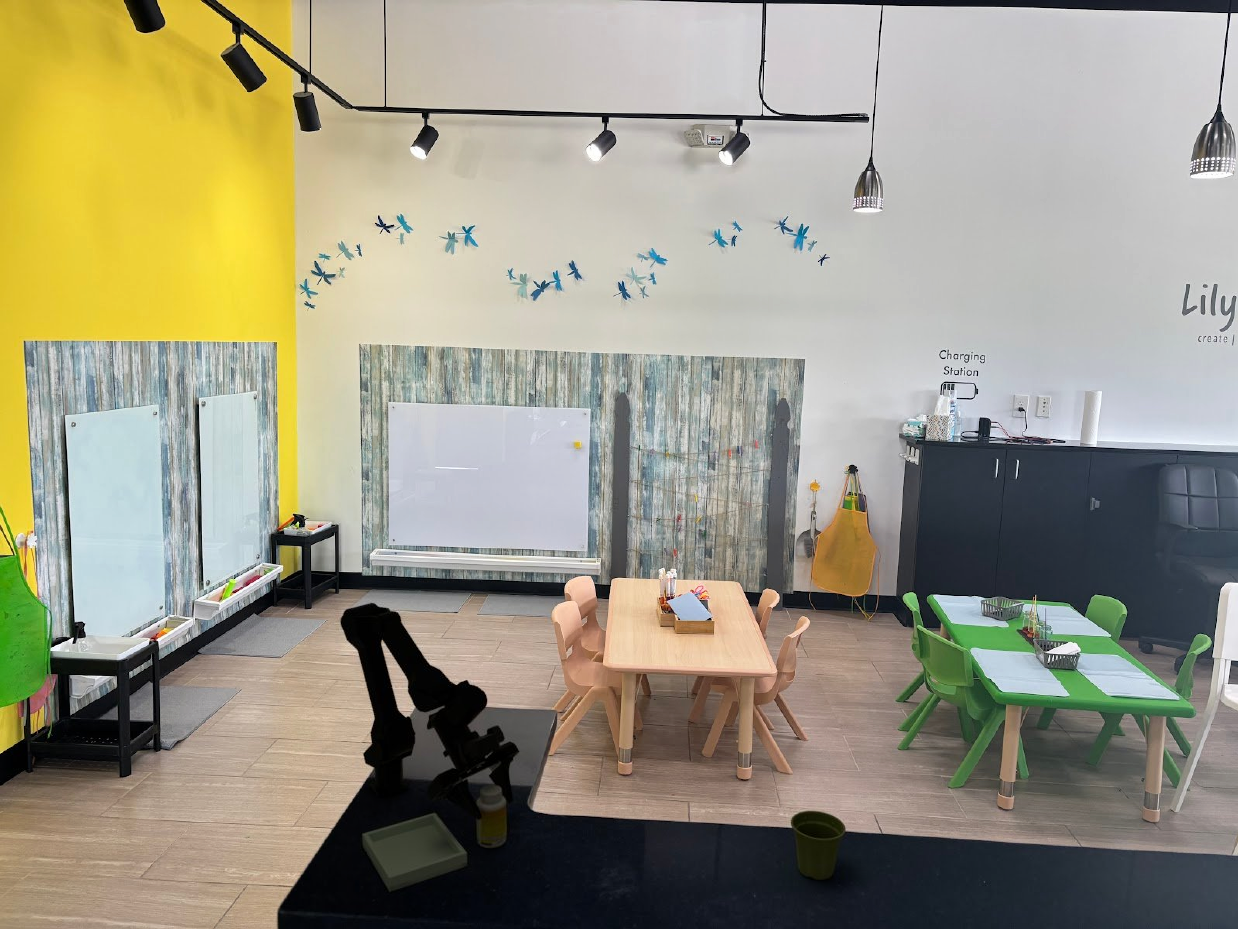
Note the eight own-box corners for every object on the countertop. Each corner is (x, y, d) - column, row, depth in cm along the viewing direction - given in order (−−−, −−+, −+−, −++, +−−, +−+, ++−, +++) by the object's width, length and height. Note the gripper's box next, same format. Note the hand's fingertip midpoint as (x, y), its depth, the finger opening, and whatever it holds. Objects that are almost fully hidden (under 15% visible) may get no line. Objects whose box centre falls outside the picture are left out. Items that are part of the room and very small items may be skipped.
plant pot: (824, 851, 158) (826, 807, 157) (854, 880, 149) (856, 834, 148) (779, 860, 155) (781, 815, 154) (806, 891, 146) (808, 843, 145)
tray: (362, 846, 158) (362, 834, 158) (435, 825, 166) (434, 812, 166) (389, 892, 145) (389, 878, 145) (467, 866, 153) (466, 853, 152)
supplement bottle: (512, 842, 160) (511, 791, 159) (486, 853, 157) (485, 800, 155) (496, 829, 164) (496, 779, 163) (471, 840, 161) (470, 788, 160)
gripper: (435, 733, 153) (477, 812, 147) (512, 701, 167) (553, 772, 162) (409, 761, 159) (449, 838, 153) (485, 728, 173) (524, 798, 168)
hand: (496, 810), depth 159 cm, fingers open, 7 cm apart
